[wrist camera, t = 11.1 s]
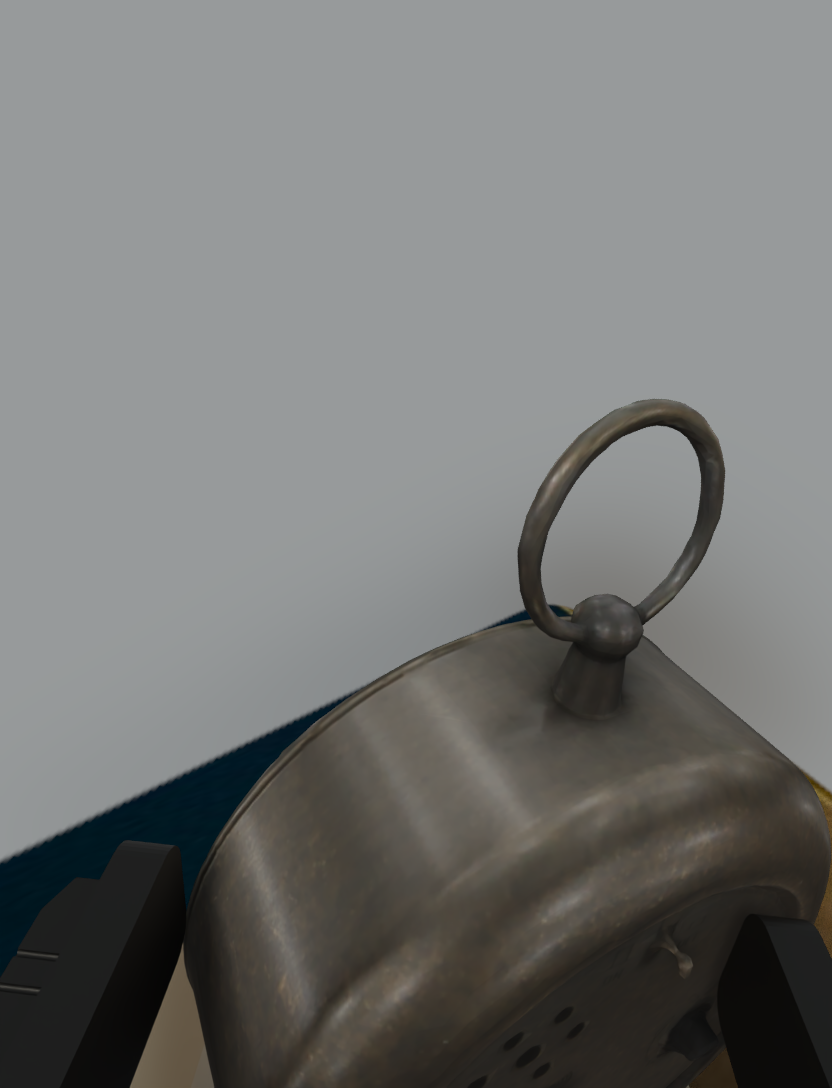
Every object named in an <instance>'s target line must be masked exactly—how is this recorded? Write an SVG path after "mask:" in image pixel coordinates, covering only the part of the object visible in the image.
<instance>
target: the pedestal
mask: <svg viewBox="0 0 832 1088" xmlns="http://www.w3.org/2000/svg"><path fill="white" fill-rule="evenodd" d="M130 1088H214V1084H213V1079H212V1075H211V1071H210V1066H209V1062H208V1057H207V1052H206V1048H205V1043H204V1038H203V1033H202V1029H201V1024H200V1019H199V1014H198V1010H197V1006H196V1001H195V997H194V993H193V989H192V987H191V985H190V983H189V980H188V978H187V974H186V969H185V965H184V951H183V945H182V949H181V953H180V956H179V959H178V962H177V965H176V968H175V970H174V973H173V976H172V978H171V981H170V983H169V986H168V989H167V991H166V994H165V997H164V999H163V1002H162V1004H161V1007H160V1010H159V1012H158V1015H157V1018H156V1020H155V1023H154V1025H153V1028H152V1031H151V1033H150V1036H149V1039H148V1041H147V1044H146V1046H145V1049H144V1052H143V1054H142V1057H141V1059H140V1062H139V1065H138V1067H137V1070H136V1073H135V1075H134V1078H133V1080H132V1083H131V1086H130ZM686 1088H690V1087H689V1085H688V1086H687V1087H686Z"/></svg>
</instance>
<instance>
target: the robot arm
mask: <svg viewBox="0 0 832 1088" xmlns="http://www.w3.org/2000/svg"><path fill="white" fill-rule="evenodd" d="M185 929H186V905H185V894H184V884H183V874H182V863H181V854H180V850H179V848H178V846H173V845H164V844H155V843H146V842H137V841H129V840H126V841H124V842H122V843H121V844H120V845H119V846H118V848H117V849H116V851H115V852H114V854H113V856H112V858H111V860H110V862H109V863H108V865H107V867H106V869H105V871H104V873H103V875H102V876H101V878H100V880H96V879H87V878H78V877H76V878H75V879H74V880H73V881H72V882H71V883H70V884H69V885H67V886H66V887H65V888H64V889H63V890H62V891H61V892H60V893H59V894H58V895H57V896H55V897H54V898H53V899H52V900H51V901H50V902H49V903H48V904H47V905H46V906H45V907H43V908H42V909H41V911H40V913H39V914H38V916H37V918H36V919H35V921H34V923H33V924H32V926H31V928H30V929H29V931H28V933H27V934H26V936H25V938H24V939H23V941H22V943H21V944H20V946H19V948H18V953H17V955H16V956H15V957H13V958H12V959H11V961H10V963H9V964H8V966H7V968H6V969H5V971H4V973H3V974H2V976H1V978H0V1088H130V1086H131V1083H132V1080H133V1078H134V1075H135V1073H136V1070H137V1067H138V1065H139V1062H140V1059H141V1057H142V1054H143V1052H144V1049H145V1046H146V1044H147V1041H148V1039H149V1036H150V1033H151V1031H152V1028H153V1025H154V1023H155V1020H156V1018H157V1015H158V1012H159V1010H160V1007H161V1004H162V1002H163V999H164V997H165V994H166V991H167V989H168V986H169V983H170V981H171V978H172V976H173V973H174V970H175V968H176V965H177V962H178V959H179V956H180V953H181V949H182V945H183V941H184V935H185ZM717 1007H718V1016H719V1022H720V1027H721V1031H722V1035H723V1038H724V1041H725V1045H726V1048H727V1051H728V1055H729V1058H730V1062H731V1065H732V1068H733V1072H734V1075H735V1078H736V1082H737V1085H738V1088H832V959H831V957H830V954H829V952H828V950H827V948H826V946H825V944H824V942H823V939H822V937H821V935H820V934H819V932H818V930H817V929H816V927H815V926H814V925H813V924H812V923H811V922H809V921H807V920H804V919H795V918H786V917H777V916H769V915H760V914H750V915H748V916H747V917H746V918H745V920H744V922H743V925H742V927H741V929H740V932H739V934H738V936H737V939H736V941H735V943H734V946H733V948H732V951H731V953H730V955H729V958H728V960H727V962H726V965H725V967H724V969H723V972H722V974H721V977H720V980H719V984H718V991H717Z"/></svg>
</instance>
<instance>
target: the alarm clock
mask: <svg viewBox="0 0 832 1088" xmlns="http://www.w3.org/2000/svg"><path fill="white" fill-rule="evenodd" d="M656 425H658V426H667V427H670V428H673V429H675V430H677V431H680V432H681V433H682V434H683V435H684V436H686V437H687V438H688V440H689V441H690V443H691V444H692V446H693V448H694V449H695V451H696V454H697V456H698V460H699V466H700V472H701V494H700V503H699V510H698V515H697V521H696V524H695V527H694V530H693V533H692V536H691V537H690V539H689V541H688V543H687V545H686V547H685V549H684V551H683V553H682V555H681V556H680V558H679V559H678V560H677V562H676V563H675V565H674V567H673V568H672V570H671V571H670V573H669V575H668V577H667V578H666V579H665V580H664V581H663V582H662V583H661V584H660V585H659V586H658V587H657V588H656V589H655V590H654V591H653V592H652V593H650V595H649V596H647V597H646V598H645V599H644V600H643V601H642V602H641V603H640V604H639V605H637V606H635V607H633V606H632V605H631V604H629V603H628V602H626V601H624V600H623V599H621V598H619V597H617V596H615V595H610V594H603V595H594V596H592V597H589V598H587V599H585V600H584V601H582V602H581V603H579V604H577V605H576V606H575V608H574V611H573V614H572V617H558V616H557V615H556V614H555V613H554V612H553V611H552V610H551V609H550V607H549V606H548V604H547V602H546V599H545V595H544V592H543V588H542V584H541V570H540V569H541V562H542V556H543V552H544V547H545V543H546V539H547V535H548V531H549V529H550V527H551V525H552V523H553V521H554V519H555V517H556V515H557V513H558V512H559V510H560V508H561V506H562V504H563V502H564V500H565V498H566V496H567V495H568V493H569V492H570V490H571V488H572V487H573V485H574V484H575V482H576V480H577V479H578V478H579V476H580V475H581V474H582V473H583V472H584V470H585V469H586V468H587V467H588V466H589V465H590V463H591V462H592V461H593V460H594V459H595V458H596V457H597V456H598V455H600V454H601V453H602V452H603V451H605V450H606V449H607V448H608V447H609V446H610V445H611V444H612V443H613V442H615V441H617V440H618V439H619V438H621V437H623V436H625V435H627V434H630V433H632V432H635V431H638V430H640V429H643V428H646V427H650V426H656ZM724 480H725V467H724V461H723V455H722V451H721V447H720V444H719V440H718V438H717V436H716V435H715V433H714V432H713V430H712V429H711V428H710V426H709V424H708V423H707V421H706V420H705V418H704V417H703V416H702V415H700V414H699V413H698V412H697V411H695V410H694V409H692V408H690V407H689V406H687V405H686V404H683V403H680V402H677V401H672V400H666V399H650V400H642V401H637V402H634V403H632V404H629V405H627V406H624V407H621V408H619V409H616V410H614V411H612V412H611V413H609V414H608V415H606V416H605V417H603V418H602V419H600V420H599V421H598V422H596V423H595V424H593V425H592V426H591V427H589V428H588V429H587V430H585V431H584V432H583V433H581V434H580V435H579V436H578V437H577V438H576V439H575V440H574V441H573V443H572V444H571V445H570V446H569V447H568V448H567V449H566V450H565V452H564V453H563V454H562V455H561V456H560V457H559V458H558V460H557V461H556V462H555V464H554V465H553V467H552V468H551V470H550V471H549V473H548V475H547V476H546V478H545V480H544V481H543V483H542V485H541V486H540V488H539V489H538V492H537V494H536V497H535V499H534V501H533V503H532V505H531V507H530V510H529V512H528V514H527V516H526V520H525V524H524V527H523V531H522V536H521V539H520V543H519V547H518V568H519V584H520V592H521V595H522V599H523V602H524V606H525V609H526V610H527V612H528V613H529V615H530V617H531V619H532V620H525V621H520V622H515V623H510V624H505V625H501V626H497V627H494V628H490V629H487V630H483V631H480V632H477V633H474V634H471V635H468V636H465V637H462V638H460V639H457V640H454V641H452V642H449V643H447V644H445V645H442V646H440V647H437V648H435V649H433V650H430V651H428V652H426V653H424V654H422V655H420V656H418V657H416V658H414V659H412V660H410V661H408V662H406V663H404V664H403V665H401V666H399V667H397V668H396V669H394V670H392V671H390V672H389V673H387V674H385V675H383V676H381V677H380V678H378V679H376V680H375V681H373V682H372V683H370V684H369V685H367V686H366V687H364V688H363V689H361V690H360V691H358V692H357V693H355V694H354V695H352V696H351V697H349V698H348V699H346V700H345V701H343V702H342V703H341V704H339V705H338V706H337V707H335V708H334V709H333V710H331V711H330V712H329V713H327V714H326V715H325V716H323V717H322V718H321V719H319V720H318V721H317V722H315V723H314V724H313V725H312V726H311V727H310V728H309V729H308V730H307V731H305V732H304V733H303V734H302V735H301V736H300V737H299V738H298V739H296V740H295V741H294V742H293V743H292V744H291V745H290V746H289V747H287V748H286V749H285V750H284V751H283V752H282V753H281V755H280V756H279V758H278V759H277V760H276V761H275V762H274V763H273V764H271V765H270V767H269V768H268V769H267V770H266V771H265V773H264V774H263V775H262V776H261V777H260V779H259V780H258V781H257V782H256V784H255V785H254V786H253V787H252V789H251V790H250V791H249V792H248V794H247V795H246V796H245V798H244V799H243V800H242V801H241V803H240V804H239V805H238V807H237V808H236V810H235V811H234V813H233V814H232V816H231V817H230V819H229V820H228V822H227V823H226V825H225V826H224V828H223V829H222V831H221V832H220V834H219V835H218V837H217V839H216V840H215V842H214V844H213V846H212V848H211V850H210V852H209V853H208V856H207V858H206V860H205V861H204V863H203V865H202V867H201V869H200V872H199V874H198V876H197V878H196V881H195V883H194V887H193V890H192V893H191V897H190V900H189V904H188V908H187V911H186V929H185V935H184V941H183V951H184V965H185V969H186V974H187V978H188V980H189V983H190V985H191V987H192V989H193V993H194V997H195V1001H196V1006H197V1010H198V1014H199V1019H200V1024H201V1029H202V1033H203V1038H204V1043H205V1048H206V1052H207V1057H208V1062H209V1066H210V1071H211V1075H212V1079H213V1084H214V1088H686V1087H687V1086H688V1085H689V1084H690V1083H691V1082H692V1081H693V1080H694V1079H695V1078H696V1077H697V1076H698V1075H699V1074H700V1073H701V1072H702V1071H703V1070H704V1069H705V1068H706V1067H707V1066H708V1065H709V1064H710V1063H711V1062H712V1061H713V1060H714V1059H715V1058H716V1057H717V1056H718V1055H719V1054H720V1053H721V1052H722V1051H723V1050H724V1049H725V1048H726V1045H725V1041H724V1038H723V1035H722V1031H721V1027H720V1022H719V1016H718V1007H717V991H718V984H719V980H720V977H721V974H722V972H723V969H724V967H725V965H726V962H727V960H728V958H729V955H730V953H731V951H732V948H733V946H734V943H735V941H736V939H737V936H738V934H739V932H740V929H741V927H742V925H743V922H744V920H745V918H746V917H747V916H748V915H750V914H760V915H769V916H777V917H786V918H795V919H804V920H807V921H809V922H811V923H812V924H813V925H814V922H815V920H816V918H817V915H818V912H819V909H820V906H821V903H822V900H823V897H824V894H825V890H826V886H827V882H828V878H829V871H830V863H831V843H830V834H829V829H828V825H827V820H826V818H825V815H824V812H823V809H822V806H821V803H820V801H819V798H818V796H817V794H816V792H815V790H814V788H813V787H812V785H811V784H810V782H809V781H808V779H807V778H806V777H805V775H804V774H803V773H802V772H801V771H800V770H799V769H798V768H797V767H796V766H795V765H794V764H793V763H792V762H791V761H790V760H789V759H788V758H787V757H786V756H785V755H784V754H782V753H781V752H780V751H779V750H778V749H776V748H775V747H774V746H773V745H772V744H770V743H769V742H768V741H767V740H766V739H765V738H763V737H762V736H761V735H760V734H759V733H757V732H756V731H755V730H754V729H753V728H751V727H750V726H749V725H748V724H747V723H746V722H744V721H743V720H742V719H741V718H740V717H738V716H737V715H736V714H735V713H734V712H732V711H731V710H730V709H729V708H727V707H726V706H725V705H724V704H723V703H722V702H720V701H719V700H718V699H717V698H716V697H714V696H713V695H712V694H711V693H710V692H709V691H707V690H706V689H705V688H704V687H702V686H701V685H700V684H699V683H698V682H697V681H695V680H694V679H693V678H692V677H690V676H689V675H688V674H687V673H686V672H685V671H683V670H682V669H681V668H680V667H679V666H677V665H676V664H675V663H674V662H673V661H672V660H670V659H669V658H668V657H667V656H666V655H665V654H664V653H663V652H662V651H661V650H660V649H659V648H658V647H657V646H656V645H655V644H654V643H653V642H652V641H650V640H649V639H648V638H646V637H645V636H643V631H644V630H643V627H642V625H644V624H645V623H646V622H647V621H649V620H650V619H651V618H652V617H654V616H655V615H656V614H657V613H659V611H661V610H662V609H663V608H664V607H665V606H666V605H667V604H668V603H669V602H670V601H671V600H673V598H674V597H675V596H676V595H677V593H678V592H679V591H680V590H681V589H682V588H683V586H684V585H685V584H686V582H687V581H688V580H689V579H690V577H691V576H692V574H693V573H694V572H695V570H696V569H697V568H698V566H699V564H700V563H701V561H702V559H703V557H704V556H705V554H706V551H707V549H708V547H709V544H710V542H711V539H712V536H713V533H714V531H715V529H716V526H717V524H718V521H719V519H720V515H721V510H722V504H723V495H724Z"/></svg>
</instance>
